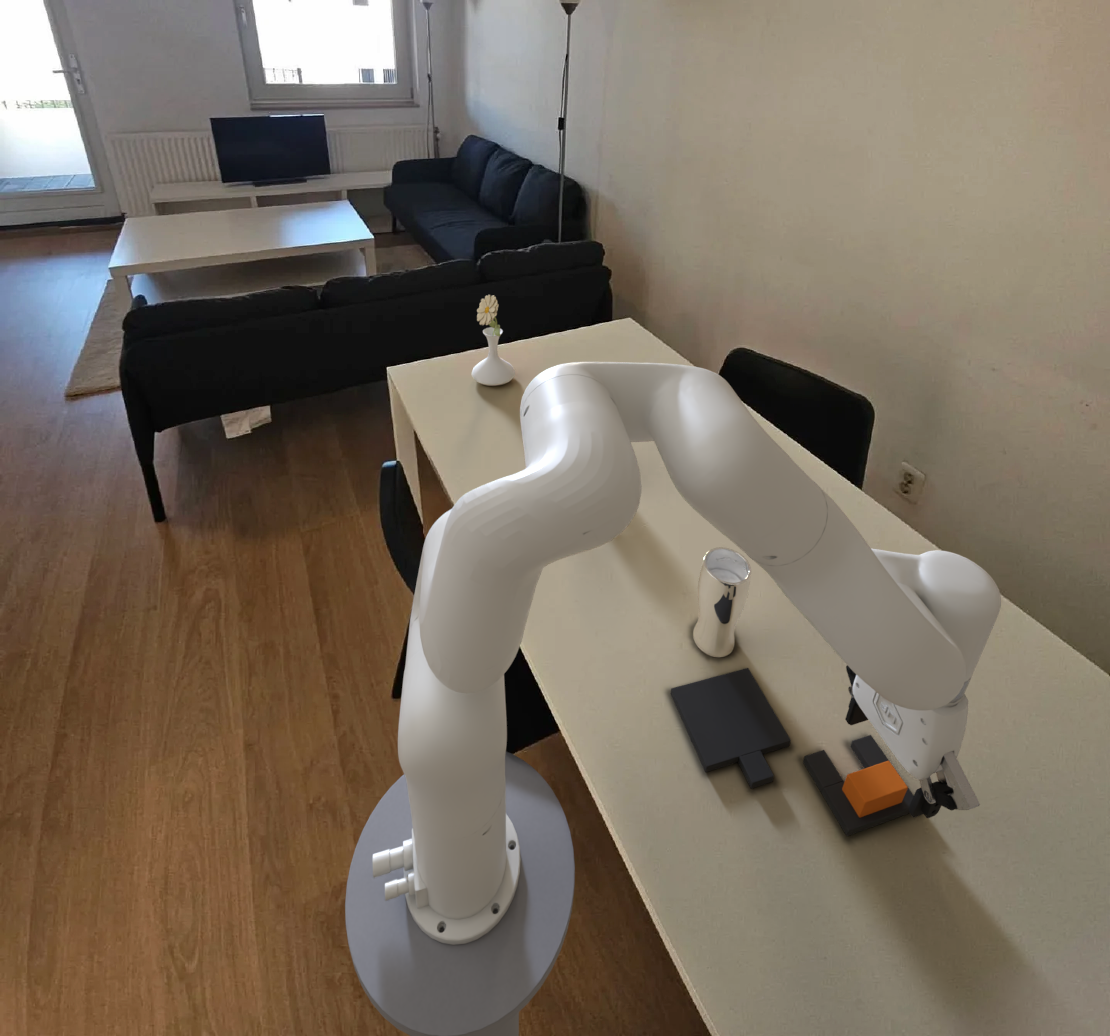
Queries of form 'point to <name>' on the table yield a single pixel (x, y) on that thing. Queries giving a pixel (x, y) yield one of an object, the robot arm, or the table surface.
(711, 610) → the beer glass
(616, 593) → the table surface
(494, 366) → the flower in vase
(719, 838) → the table surface
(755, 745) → the charcoal pad
